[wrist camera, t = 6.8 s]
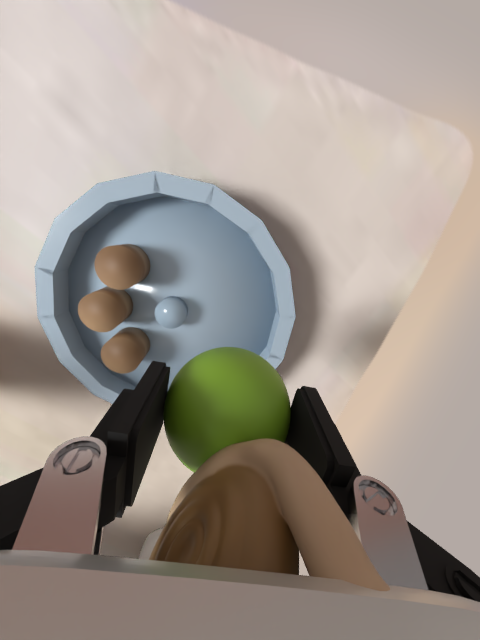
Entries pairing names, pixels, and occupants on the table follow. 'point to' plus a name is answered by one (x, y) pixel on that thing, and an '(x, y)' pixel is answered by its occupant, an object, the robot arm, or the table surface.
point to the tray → (165, 277)
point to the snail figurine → (250, 478)
